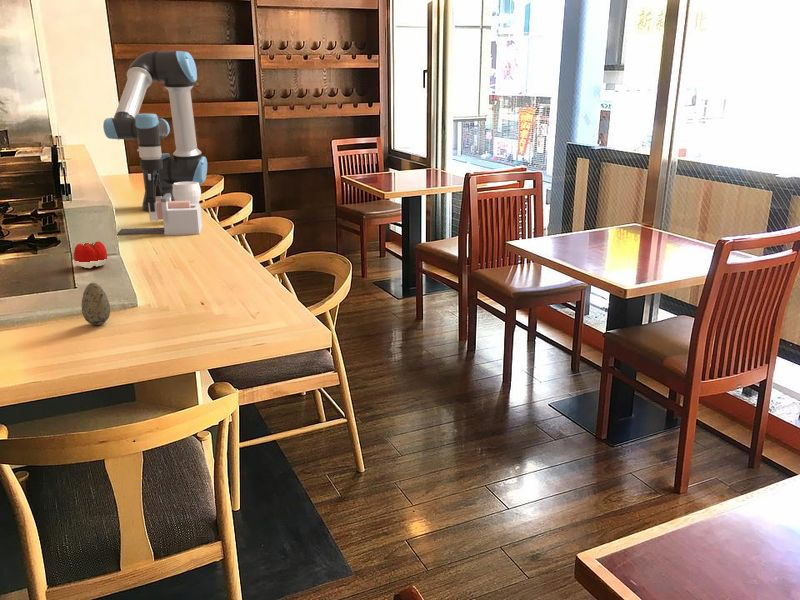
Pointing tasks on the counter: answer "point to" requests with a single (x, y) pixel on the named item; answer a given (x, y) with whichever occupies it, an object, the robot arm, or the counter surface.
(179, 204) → the pink rectangular block
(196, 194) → the cup
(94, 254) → the tomato
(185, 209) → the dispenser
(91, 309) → the decorative egg
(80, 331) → the counter surface
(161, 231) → the pad
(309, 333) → the counter surface
